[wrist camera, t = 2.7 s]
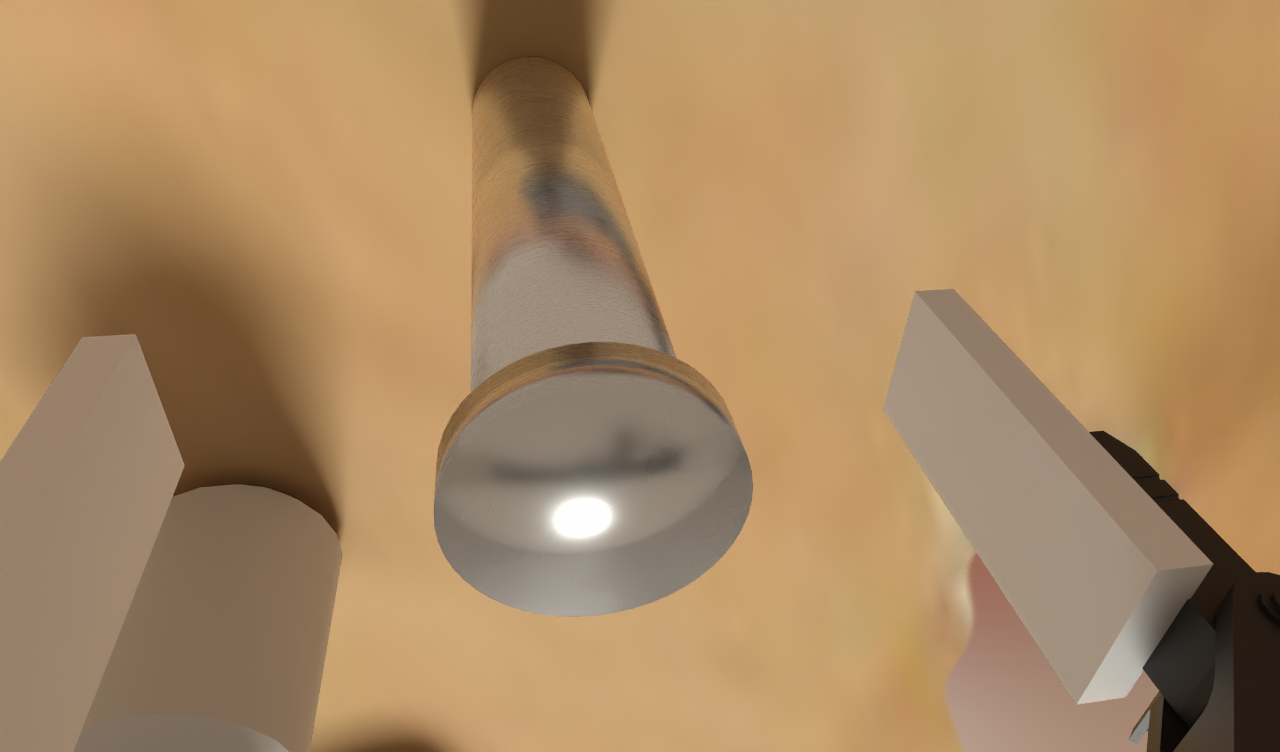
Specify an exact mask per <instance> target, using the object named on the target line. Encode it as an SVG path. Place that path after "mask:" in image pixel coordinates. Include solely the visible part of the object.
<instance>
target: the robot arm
mask: <svg viewBox="0 0 1280 752" xmlns="http://www.w3.org/2000/svg"><path fill="white" fill-rule="evenodd" d="M883 411H884V412H885V414H886V415H887V417H888V418H889V420H890V422H891V423H892V425H893V426H894V428H895V429H896V431H897V432H898V434H899V435H900V437H901V438H902V440H903V441H904V443H905V444H906V446H907V447H908V449H909V450H910V452H911V453H912V455H913V456H914V458H915V459H916V461H917V463H918V464H919V466H920V467H921V469H922V470H923V472H924V473H925V475H926V476H927V478H928V479H929V481H930V482H931V484H932V485H933V487H934V488H935V490H936V491H937V493H938V494H939V496H940V497H941V499H942V501H943V502H944V504H945V505H946V507H947V508H948V510H949V511H950V513H951V514H952V516H953V517H954V519H955V520H956V522H957V523H958V525H959V526H960V528H961V529H962V531H963V532H964V534H965V535H966V537H967V538H968V540H969V542H970V543H971V545H972V546H973V548H974V549H975V551H976V552H977V554H978V555H979V557H980V558H981V560H982V561H983V563H984V564H985V566H986V567H987V569H988V570H989V572H990V573H991V575H992V576H993V578H994V579H995V581H996V582H997V584H998V586H999V587H1000V588H1001V590H1002V592H1003V593H1004V595H1005V596H1006V598H1007V599H1008V601H1009V602H1010V604H1011V605H1012V607H1013V608H1014V610H1015V611H1016V613H1017V614H1018V616H1019V617H1020V619H1021V620H1022V622H1023V623H1024V625H1025V626H1026V628H1027V630H1028V631H1029V633H1030V634H1031V636H1032V637H1033V639H1034V640H1035V642H1036V643H1037V645H1038V646H1039V648H1040V649H1041V651H1042V652H1043V654H1044V655H1045V657H1046V658H1047V660H1048V662H1049V663H1050V664H1051V666H1052V668H1053V669H1054V671H1055V672H1056V674H1057V675H1058V677H1059V678H1060V680H1061V681H1062V683H1063V684H1064V686H1065V687H1066V689H1067V690H1068V692H1069V693H1070V695H1071V696H1072V698H1073V699H1074V701H1075V703H1076V704H1083V703H1090V702H1096V701H1103V700H1110V699H1116V698H1123V697H1126V696H1127V694H1128V693H1129V691H1130V690H1131V688H1132V687H1133V685H1134V684H1135V682H1136V681H1137V679H1138V678H1139V676H1140V674H1141V673H1142V672H1143V670H1144V671H1145V672H1146V674H1147V675H1148V676H1149V677H1150V679H1151V680H1152V682H1153V683H1154V684H1155V686H1156V687H1157V688H1158V689H1159V692H1158V694H1157V695H1156V697H1155V698H1154V699H1153V701H1152V702H1151V704H1150V705H1149V707H1148V708H1147V710H1146V711H1145V712H1144V714H1143V715H1142V717H1141V718H1140V720H1139V721H1138V723H1137V724H1136V725H1135V727H1134V728H1133V731H1132V733H1131V735H1130V738H1129V740H1131V741H1133V742H1135V743H1138V742H1139V740H1140V739H1141V738H1142V736H1143V735H1144V733H1145V732H1146V731H1148V730H1149V731H1148V742H1147V752H1280V575H1277V574H1273V573H1269V572H1255V571H1254V570H1253V569H1252V568H1251V567H1250V566H1249V565H1248V564H1247V563H1246V562H1245V561H1244V560H1243V559H1242V558H1241V557H1240V556H1239V555H1238V554H1237V553H1236V552H1235V551H1234V550H1233V549H1232V548H1231V547H1230V546H1229V545H1228V544H1227V543H1226V542H1225V541H1224V540H1223V539H1222V538H1221V537H1220V536H1219V535H1218V534H1217V533H1216V532H1215V531H1214V530H1213V529H1212V528H1211V527H1210V526H1209V525H1208V524H1207V523H1206V522H1205V521H1204V520H1203V519H1202V518H1201V517H1200V516H1199V515H1198V513H1197V512H1196V511H1195V510H1194V509H1193V508H1192V507H1191V506H1190V505H1189V504H1188V503H1187V502H1186V501H1185V500H1184V499H1183V500H1180V499H1179V497H1178V495H1179V494H1178V493H1177V492H1176V491H1175V490H1174V489H1173V488H1172V487H1171V486H1170V485H1169V484H1168V483H1167V482H1166V481H1165V480H1160V479H1159V474H1158V473H1157V472H1156V471H1155V470H1154V469H1153V468H1152V467H1151V466H1150V465H1149V464H1148V463H1147V462H1146V461H1145V460H1144V459H1143V458H1142V457H1141V456H1140V455H1139V454H1138V453H1137V452H1136V451H1135V450H1133V449H1132V448H1130V447H1129V446H1127V445H1125V444H1124V443H1122V442H1121V441H1119V440H1117V439H1116V438H1114V437H1113V436H1111V435H1109V434H1108V433H1106V432H1104V431H1096V432H1088V431H1087V430H1086V429H1085V428H1084V426H1083V425H1082V424H1081V423H1080V422H1079V421H1078V420H1077V419H1076V418H1075V417H1074V416H1073V415H1072V414H1071V413H1070V412H1069V411H1068V410H1067V408H1066V407H1065V406H1064V405H1063V404H1062V403H1061V402H1060V401H1059V400H1058V399H1057V398H1056V397H1055V396H1054V395H1053V394H1052V393H1051V392H1050V390H1049V389H1048V388H1047V387H1046V386H1045V385H1044V384H1043V383H1042V382H1041V381H1040V380H1039V379H1038V378H1037V377H1036V376H1035V375H1034V374H1033V373H1032V371H1031V370H1030V369H1029V368H1028V367H1027V366H1026V365H1025V364H1024V363H1023V362H1022V361H1021V360H1020V359H1019V358H1018V357H1017V356H1016V355H1015V353H1014V352H1013V351H1012V350H1011V349H1010V348H1009V347H1008V346H1007V345H1006V344H1005V343H1004V342H1003V341H1002V340H1001V339H1000V338H999V337H998V335H997V334H996V333H995V332H994V331H993V330H992V329H991V328H990V327H989V326H988V325H987V324H986V323H985V322H984V321H983V320H982V319H981V317H980V316H979V315H978V314H977V313H976V312H975V311H974V310H973V309H972V308H971V307H970V306H969V305H968V304H967V303H966V302H965V301H964V299H963V298H962V297H961V296H960V295H959V294H958V293H957V292H956V291H955V290H954V289H947V290H929V291H915V293H914V297H913V301H912V304H911V308H910V312H909V315H908V319H907V323H906V326H905V330H904V334H903V337H902V341H901V345H900V349H899V352H898V356H897V360H896V363H895V367H894V371H893V374H892V378H891V382H890V385H889V389H888V393H887V396H886V400H885V404H884V407H883ZM184 466H185V465H184V462H183V460H182V457H181V454H180V452H179V449H178V446H177V444H176V441H175V438H174V436H173V433H172V430H171V427H170V425H169V422H168V419H167V417H166V414H165V411H164V409H163V406H162V403H161V401H160V398H159V395H158V393H157V390H156V387H155V385H154V382H153V379H152V376H151V374H150V371H149V368H148V366H147V363H146V360H145V358H144V355H143V352H142V350H141V347H140V344H139V342H138V339H137V336H136V334H128V335H110V336H92V337H82V338H81V340H80V341H79V343H78V344H77V346H76V347H75V349H74V350H73V352H72V353H71V355H70V356H69V358H68V359H67V361H66V362H65V364H64V365H63V367H62V369H61V370H60V372H59V373H58V375H57V376H56V378H55V379H54V381H53V382H52V384H51V385H50V387H49V388H48V390H47V391H46V393H45V394H44V396H43V398H42V399H41V401H40V402H39V404H38V405H37V407H36V408H35V410H34V411H33V413H32V414H31V416H30V417H29V419H28V420H27V422H26V423H25V425H24V427H23V428H22V430H21V431H20V433H19V434H18V436H17V437H16V439H15V440H14V442H13V443H12V445H11V446H10V448H9V449H8V451H7V452H6V454H5V456H4V457H3V459H2V460H1V462H0V752H73V751H74V749H75V746H76V744H77V741H78V738H79V736H80V733H81V731H82V728H83V726H84V723H85V720H86V718H87V715H88V713H89V710H90V708H91V705H92V702H93V700H94V697H95V695H96V692H97V690H98V687H99V684H100V682H101V679H102V677H103V674H104V672H105V669H106V666H107V664H108V661H109V659H110V656H111V654H112V651H113V648H114V646H115V643H116V641H117V638H118V636H119V633H120V631H121V628H122V625H123V623H124V620H125V618H126V615H127V613H128V610H129V607H130V605H131V602H132V600H133V597H134V595H135V592H136V589H137V587H138V584H139V582H140V579H141V577H142V574H143V571H144V569H145V566H146V564H147V561H148V559H149V556H150V553H151V551H152V548H153V546H154V543H155V541H156V538H157V535H158V533H159V530H160V528H161V525H162V523H163V520H164V517H165V515H166V512H167V510H168V507H169V505H170V502H171V499H172V497H173V494H174V492H175V489H176V487H177V484H178V481H179V479H180V476H181V474H182V471H183V469H184Z"/></svg>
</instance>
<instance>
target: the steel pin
mask: <svg viewBox="0 0 1280 752" xmlns="http://www.w3.org/2000/svg"><path fill="white" fill-rule="evenodd" d="M752 491H753V481H752V471H751V467H750V464H749V460H748V457H747V454H746V452H745V449H744V447H743V444H742V442H741V439H740V436H739V434H738V431H737V429H736V426H735V424H734V421H733V419H732V416H731V414H730V412H729V410H728V408H727V406H726V403H725V401H724V399H723V398H722V397H721V395H720V394H719V392H718V391H717V390H716V388H715V387H714V386H713V385H712V384H711V383H710V382H709V381H708V380H707V379H706V378H705V377H704V376H703V375H702V374H701V373H699V372H698V371H696V370H695V369H694V368H692V367H691V366H690V365H688V364H686V363H684V362H683V361H681V360H679V359H677V358H676V355H675V352H674V349H673V346H672V344H671V341H670V338H669V335H668V332H667V329H666V326H665V323H664V320H663V317H662V314H661V311H660V309H659V306H658V303H657V300H656V297H655V294H654V291H653V288H652V285H651V282H650V279H649V276H648V274H647V271H646V268H645V265H644V262H643V259H642V256H641V253H640V250H639V247H638V244H637V241H636V239H635V236H634V233H633V230H632V227H631V224H630V221H629V218H628V215H627V212H626V209H625V206H624V204H623V201H622V198H621V195H620V192H619V189H618V186H617V183H616V180H615V177H614V174H613V171H612V169H611V166H610V163H609V160H608V157H607V154H606V151H605V148H604V145H603V142H602V139H601V136H600V134H599V131H598V128H597V125H596V122H595V119H594V116H593V113H592V110H591V107H590V104H589V101H588V99H587V96H586V93H585V91H584V89H583V87H582V86H581V84H580V83H579V81H578V80H577V79H576V78H575V76H574V75H573V74H572V73H570V72H569V71H568V70H567V69H566V68H564V67H563V66H561V65H559V64H557V63H555V62H553V61H550V60H548V59H544V58H539V57H521V58H516V59H513V60H510V61H507V62H505V63H503V64H501V65H499V66H498V67H496V68H495V69H494V70H492V71H491V72H490V73H489V74H488V75H487V76H486V77H485V79H484V80H483V81H482V83H481V84H480V86H479V88H478V90H477V92H476V95H475V98H474V102H473V109H472V311H471V393H470V394H469V395H468V396H467V397H466V398H465V399H464V400H463V401H462V402H461V404H460V405H459V407H458V408H457V409H456V411H455V412H454V414H453V415H452V416H451V418H450V420H449V422H448V424H447V426H446V428H445V430H444V432H443V435H442V438H441V441H440V444H439V448H438V455H437V462H436V479H435V498H434V526H435V531H436V535H437V539H438V543H439V545H440V547H441V549H442V552H443V554H444V556H445V557H446V559H447V560H448V562H449V563H450V565H451V566H452V568H453V569H454V570H455V571H456V572H457V573H458V574H459V575H460V576H461V577H462V578H463V580H465V581H466V582H467V583H469V584H470V585H471V586H472V587H474V588H475V589H476V590H478V591H479V592H481V593H483V594H484V595H486V596H488V597H489V598H491V599H494V600H496V601H498V602H500V603H503V604H505V605H508V606H511V607H514V608H517V609H520V610H523V611H528V612H533V613H538V614H544V615H553V616H574V617H579V616H595V615H602V614H609V613H615V612H620V611H624V610H628V609H633V608H636V607H639V606H642V605H645V604H648V603H651V602H654V601H656V600H658V599H661V598H663V597H666V596H668V595H670V594H672V593H674V592H675V591H677V590H679V589H681V588H683V587H685V586H686V585H688V584H689V583H691V582H692V581H694V580H695V579H697V578H698V577H700V576H701V575H702V574H703V573H705V572H706V571H707V570H708V569H710V568H711V567H712V566H713V565H714V564H715V563H716V562H717V561H718V560H719V559H720V558H721V557H722V556H723V555H724V554H725V553H726V551H727V550H728V549H729V548H730V546H731V545H732V544H733V543H734V541H735V540H736V538H737V536H738V535H739V533H740V531H741V530H742V528H743V525H744V523H745V521H746V518H747V516H748V513H749V509H750V505H751V501H752Z"/></svg>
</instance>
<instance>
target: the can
mask: <svg viewBox="0 0 1280 752" xmlns="http://www.w3.org/2000/svg"><path fill="white" fill-rule="evenodd" d="M341 559H342V551H341V548H340V544H339V540H338V537H337V534H336V533H335V531H334V530H333V529H332V528H331V526H330V525H329V524H328V523H327V521H326V520H325V519H324V518H323V516H322V515H320V514H319V513H317V512H316V511H314V510H313V509H311V508H310V507H308V506H307V505H305V504H304V503H302V502H301V501H299V500H298V499H295V498H293V497H291V496H290V495H287V494H284V493H281V492H278V491H276V490H273V489H270V488H267V487H261V486H253V485H245V484H232V485H221V486H210V487H200V488H197V489H194V490H191V491H188V492H185V493H182V494H179V495H176V496H173V497H172V499H171V502H170V505H169V507H168V510H167V512H166V515H165V517H164V520H163V523H162V525H161V528H160V530H159V533H158V535H157V538H156V541H155V543H154V546H153V548H152V551H151V553H150V556H149V559H148V561H147V564H146V566H145V569H144V571H143V574H142V577H141V579H140V582H139V584H138V587H137V589H136V592H135V595H134V597H133V600H132V602H131V605H130V607H129V610H128V613H127V615H126V618H125V620H124V623H123V625H122V628H121V631H120V633H119V636H118V638H117V641H116V643H115V646H114V648H113V651H112V654H111V656H110V659H109V661H108V664H107V666H106V669H105V672H104V674H103V677H102V679H101V682H100V684H99V687H98V690H97V692H96V695H95V697H94V700H93V702H92V705H91V708H90V710H89V713H88V715H87V718H86V720H85V723H84V726H83V728H82V731H81V733H80V736H79V738H78V741H77V744H76V746H75V749H74V751H73V752H310V746H311V740H312V734H313V728H314V722H315V716H316V710H317V704H318V698H319V692H320V686H321V680H322V674H323V668H324V662H325V656H326V650H327V644H328V638H329V632H330V626H331V620H332V614H333V608H334V602H335V595H336V589H337V583H338V577H339V571H340V565H341Z"/></svg>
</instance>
